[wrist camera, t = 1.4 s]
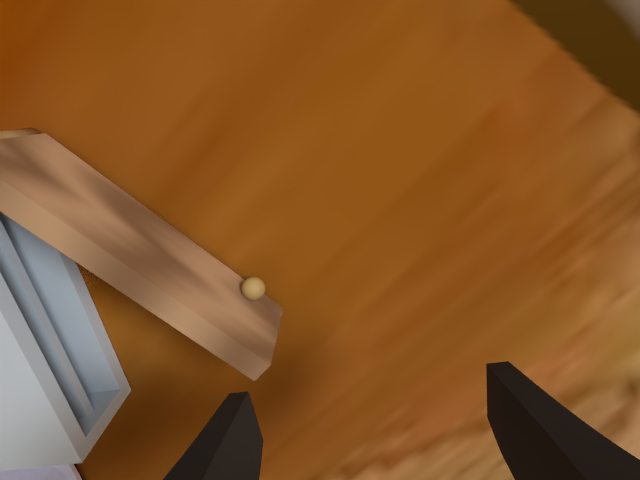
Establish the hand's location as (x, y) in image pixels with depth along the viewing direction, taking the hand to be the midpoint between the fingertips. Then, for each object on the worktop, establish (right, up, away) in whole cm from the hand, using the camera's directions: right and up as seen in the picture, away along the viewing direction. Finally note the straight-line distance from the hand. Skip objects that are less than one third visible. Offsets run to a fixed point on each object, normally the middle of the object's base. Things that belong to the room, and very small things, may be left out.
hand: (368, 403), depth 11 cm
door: (-9, +6, +8) cm, 13 cm away
